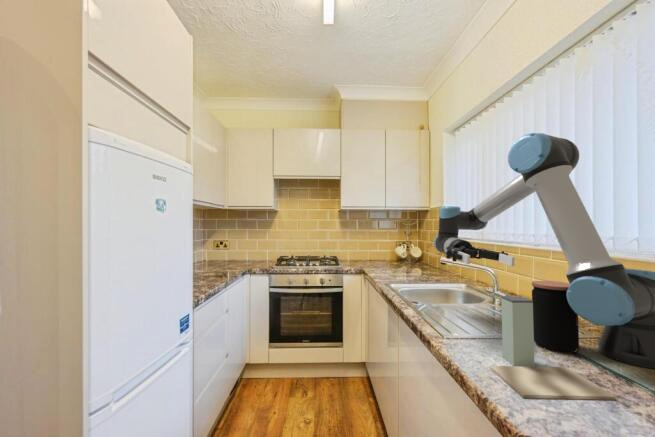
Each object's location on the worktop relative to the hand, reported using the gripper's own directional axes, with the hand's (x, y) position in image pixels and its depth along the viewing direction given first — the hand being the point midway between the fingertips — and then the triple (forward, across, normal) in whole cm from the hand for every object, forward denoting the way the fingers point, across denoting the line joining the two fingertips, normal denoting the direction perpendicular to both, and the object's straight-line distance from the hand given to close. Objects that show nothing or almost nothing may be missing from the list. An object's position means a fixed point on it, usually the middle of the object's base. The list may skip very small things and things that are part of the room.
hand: (491, 260), depth 91 cm
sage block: (+15, 0, -23) cm, 28 cm away
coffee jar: (+6, -18, -23) cm, 30 cm away
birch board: (+26, +1, -22) cm, 34 cm away
